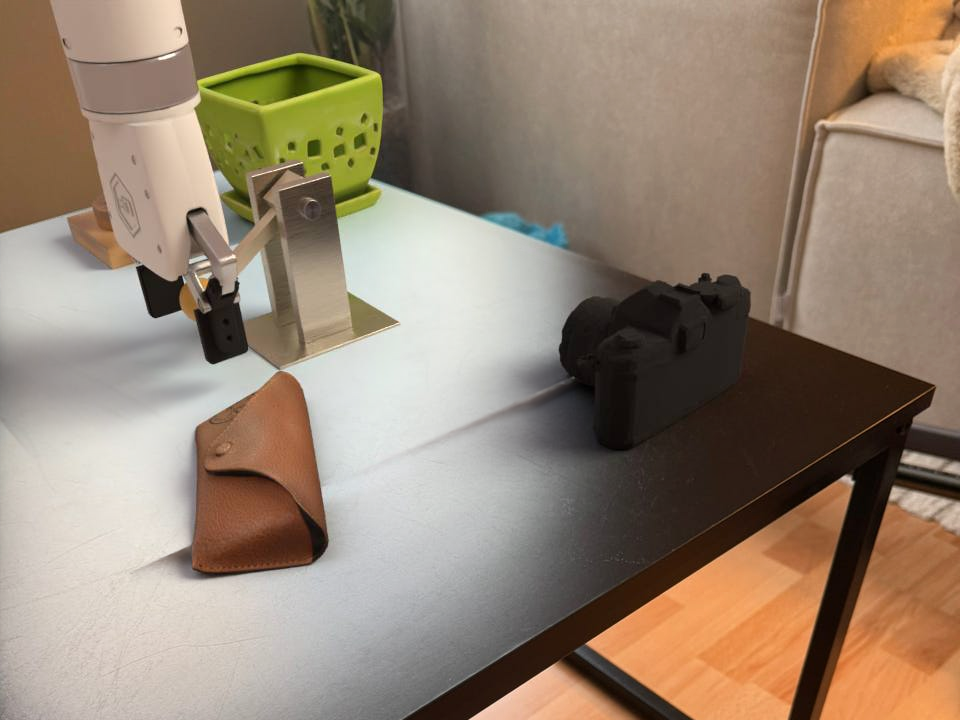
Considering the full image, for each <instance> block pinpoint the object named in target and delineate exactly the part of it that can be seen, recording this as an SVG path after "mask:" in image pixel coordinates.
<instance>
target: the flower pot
mask: <svg viewBox="0 0 960 720" xmlns="http://www.w3.org/2000/svg"><path fill="white" fill-rule="evenodd" d="M197 83H198V88H199V92H200V97H201V101H200V103H199V104H198V105H197V106H196V107H194V110H195V112H196V115H197V119H198V122H199V125H200V128H201V132H202V135H203V138H204V141H205V145H206V148H207V152H208V154H209V155H210V157H211V159H212V161H213V162H214V164H215V166H216V167H217V168H218V170H219V171H220V173H221V174H222V176H223V177H224V178H225V180H226V181H227V182H228V183H229V185H230V186H231V187H232V188H233V189H231V190H230V189H229V190H227V191H225V192H222V193H220V194H219V197H220V200H221V201H222V202H223V204H225V206H227V207H228V208H229V209H230V210H231V211H232V212H234V213H235V214H237V215H238V216H240V217H242V218H243V219H245V220H247V221H250V222H251V223H253V224H255V222H254V217H253V212H252V207H251V202H250V196H249V191H248V186H247V181H246V176H245V174H246V173H248V172H252V171H256V170H259V169H263V168H266V167H270V166H274V165H277V164H281V163H284V162H288V161H292V160H295V159H297V160H299V161H302V162H303V165H304V172H305V177H309V176H312V175H316V174H319V173H323V172H325V173H327V174H330V175H331V177H332V185H333V192H334V199H335V206H336V214H337V220H338V219H340V218H343V217H346V216H349V215H352V214H355V213H357V212H360V211H363V210H366V209H369V208H371V207H373V206H375V205H376V203H378V201H379V199H380V198H381V196H382V189H381V188H380V187H377V186H374V185H372V184H369V182H370V180H371V178H372V175H373V173H374V169H375V166H376V162H377V159H378V156H379V150H380V146H381V137H382V125H383V124H382V123H383V114H384V112H383V111H384V99H383V98H384V96H383V91H384V90H383V80H382V76H381V75H380V74H379V72H377V71H373V70H371V69H367V68H365V67H361V66H358V65H355V64H351V63H347V62H344V61H340V60H337V59H332V58H328V57H324V56H319V55H314V54H309V53H303V52H298V53H297V52H296V53H293V54H289V55H288V54H287V55H284V56H280V57H276V58H273V59H269V60H264V61H261V62H257V63H254V64H250V65H246V66H243V67H239V68H236V69H235V68H234V69H231V70H228V71H226V72H222V73H217V74H215V75H211V76H207V77H204V78H201V79H197ZM294 96H295V97H294ZM229 144H230V146H229Z"/></svg>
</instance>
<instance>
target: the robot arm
mask: <svg viewBox="0 0 960 720" xmlns="http://www.w3.org/2000/svg"><path fill="white" fill-rule="evenodd" d="M49 3H50V6H51V9H52V14H53V17H54V20H55V24H56V27H57V30H58V34H59V38H60V42H61V45H62V49H63V52H64V55H65V58H66V59H65V60H66V62H67V65H68V70H69V72H70V77H71V79H72V83H73V87H74V91H75V93H76V96H77V101H78V104H79V109H80V112H81V115H82V117H84V118H86V119H87V120H88V127H89V132H90V138H91V141H92V142H91V143H92V147H93V148H92V149H93V152H94V158H95V162H96V166H97V171H98V175H99V179H100V183H101V188H102V192H103V194H104V196H105V200H106V204H107V209H108V213H109V217H110V221H111V225H112V229H113V232H114V236H115V238H116V240H117V242H118V244H119V245H120V246H121V248H122V249H124V250H125V251H126V252H127V253H128V254H130V255H131V256H132V258H133V260H134V262H135V263H134V264H135V265H137V266H135V271H136V274H137V277H138V281H139V284H140V285H139V286H140V288H141V291H142V296H143V300H144V303H145V306H146V307H145V308H146V311H147V314H148V315H149V316H150V317H151V318H153V319H159V318H162V317H167V316H169V315H171V314H174V313H177V312H181V311H183V310H182V308H181V306H180V301H179V296H180V291H181V289H182V287H183V286H184V284H185V283H187V285H188V287H189V289H190V291H191V293H192V295H193V297H194V299H195V301H196V303H197V306H198V308H199V309H196V310H193V311H194V315H195V319H196V322H195V323H196V327H197V330H198V335H199V338H200V343H201V347H202V352H203V356H204V359H205V361H206V362H207V363H208V364H210V365H217V364H219V363H222V362H225V361H228V360H230V359H234V358H236V357H238V356H242V355H245V354H247V352H248V351H249V346H248V342H247V338H246V333H245V328H244V323H243V322H244V319H243V314H242V310H241V305H240V302H241V294H240V291H239V290H240V281H239V277H238V276H237V259H236V256H235V254H234V253H233V249H231V246H230V241H229V234H228V230H227V229H228V228H227V225H226V220H225V215H224V211H223V207H222V202H221V201H222V200H221V198H220V194H219V190H218V185H217V181H216V178H215V174H214V169H213V167H212V163H211V160H210V156H209V155H210V154H209V152H208V150H207V148H206V145H205V141H204V138H203V135H202V132H201V128H200V125H199V122H198V119H197V115H196V112H195V110H194V107H196V106H197V105H198V104H199V103H200V101H201V97H200V92H199V88H198V83H197V81H198V79H197V74H196V70H195V69H196V68H195V65H194V60H193V54H192V50H191V46H190V40H189V34H188V30H187V25H186V21H185V16H184V12H183V6H182V1H181V0H49ZM202 256H205V258H204V259H201V260H199V261H195V262H192V263H190V260H192V259H196V258H200V257H202ZM210 273H211V275H212V274H213V278H212V279H209V281H208V284H207V287H206V289H205V290H204V288H203V286H202V284H201V282H200V280H199V278H200V277H201V276H204V275H206V274H210Z"/></svg>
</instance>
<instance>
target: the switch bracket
mask: <svg viewBox="0 0 960 720" xmlns="http://www.w3.org/2000/svg"><path fill="white" fill-rule="evenodd" d="M287 170H289V171H291V172H293V173H295V174H297V175H299V176H301V177H303V178H302V179H298V180H295V181H291V182H288V183H284V184H281V185H277V186H274V185H275V183H276V182H277V181H278V180H279V179H280V178H281V177H282V176H283V174H284V173H285V172H286V171H287ZM245 176H246V181H247V186H248V191H249V196H250V202H251V207H252V212H253V217H254V222H255V223H254V226H255V225H256V224H257V223H258V222H259V221H260V220H261V218H262V217H263V216H264V215H265V214H266V213H267V212H268V211H269V210H270V208H271V207H270V206H269V205H268V204H267V202H266V201H265V200H264V199H263V197H264V196H265V195H266V194H267V192H268V191H269V190H270V189H271V188H272V193H273V198H274V204H275V210H276V215H277V221H278V226H279V230H278V231H277V232H276V233H275V234H274V235H273V237H272V238H271V239H270V240H269V241H268V242H267V243H266V244H265V246H264V247H263V248H262V249H261V250H260V251H259V253H260V257H261V263H262V268H263V275H264V278H265V284H266V288H267V295H268V299H269V303H270V309H271V311H269V312H267V313H264V314H261V315H259V316H256V317H253V318H250V319H247V320H243V323H244V328H245V333H246V338H247V342H248V348H250V349H252V350H253V351H255V352H256V353H257V354H259V355H260V356H261V357H263V358H264V359H265V360H266V361H268V362H270V363H271V364H272V365H274V366H275V367H276V368H278V369H279V371H283V370H284V369H287V368H290V367H293V366H295V365H298V364H301V363H303V362H306V361H309V360H311V359H314V358H317V357H319V356H322V355H324V354H328V353H330V352H332V351H335V350H338V349H341V348H343V347H347V346H349V345H351V344H354V343H357V342H359V341H362V340H365V339H368V338H370V337H373V336H375V335H379V334H381V333H383V332H386V331H388V330H392V329H394V328H397V327H399V326H401V322H400V321H399V320H397V319H396V318H394V317H392V316H390V315H388V314H387V313H385V312H384V311H382V310H380V309H379V308H377V307H375V306H373V305H371V304H370V303H368V302H366V301H365V300H363V299H361V298H360V297H358V296H356V295H355V294H353V293H352V292H350V291H348V286H347V279H346V271H345V265H344V257H343V250H342V244H341V243H342V242H341V236H340V229H339V221H338V219H337V214H336V206H335V199H334V192H333V185H332V177H331V175H330V174H327V173H325V172H323V173H319V174H316V175H312V176H309V177H305V172H304V165H303V162H302V161H299V160H297V159H295V160H292V161H288V162H284V163H281V164H277V165H274V166H270V167H266V168H263V169H259V170H256V171H252V172H248V173H246V174H245ZM273 186H274V187H273Z"/></svg>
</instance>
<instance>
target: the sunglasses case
mask: <svg viewBox="0 0 960 720" xmlns="http://www.w3.org/2000/svg"><path fill="white" fill-rule="evenodd" d="M306 400H307V399H306V397H305V393H304V389H303V388H302V386H301V383H300V382H299V381H298V379H297V378H296V377H295V376H293V375H292V374H291V373H289V372H287V371H284V370H279V371H276V372H275V373H274V374H273V375H272V376H271V377H270V378H269V379H268V380H267V381H266V382H265V383H263V385H262V386H261V387H260V388H259V389H257V390H256V391H253V392H252V393H250V394H249V395H247V396H244V398H242V399H240V400H238V401H236V402H235V403H233V404H231V405H230V406H228V407H226V408H224V409H223V410H221V411H220V412H218V413H216V414H214V415H213V416H211V417H210V418H208V419H207V420H204V421H202V422H201V423H199V424H198V425H197V426H196V427H195V431H194V441H195V448H196V449H195V450H196V500H195V501H196V502H195V503H196V504H195V520H194V529H193V538H192V548H191V569H192V570H193V571H196V572H198V573H201V574H208V575H211V574H242V573H255V572H264V571H270V570H271V571H272V570H280V569H286V568H294V567H295V568H297V567H301V566H309V565H312V564H313V563H315V562H316V561H318V560H320V558H322V556H323V555H324V554H325V553H326V551H327V549H328V548H329V542H330V541H329V540H330V539H329V533H328V525H327V517H326V511H325V505H324V498H323V493H322V486H321V479H320V474H319V469H318V462H317V457H316V451H315V445H314V438H313V432H312V431H313V430H312V427H311V421H310V415H309V414H310V413H309V409H308V404H307V401H306Z"/></svg>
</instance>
